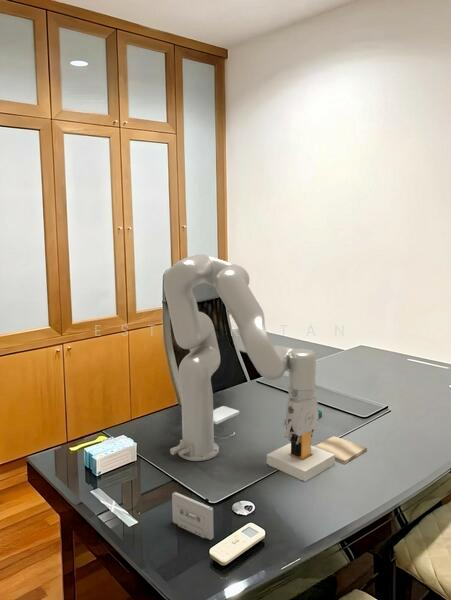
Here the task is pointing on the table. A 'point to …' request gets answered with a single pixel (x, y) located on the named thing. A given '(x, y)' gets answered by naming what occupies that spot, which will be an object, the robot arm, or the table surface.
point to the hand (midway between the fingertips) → (300, 451)
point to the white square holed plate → (301, 462)
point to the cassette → (194, 523)
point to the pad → (341, 449)
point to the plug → (304, 446)
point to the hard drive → (223, 414)
